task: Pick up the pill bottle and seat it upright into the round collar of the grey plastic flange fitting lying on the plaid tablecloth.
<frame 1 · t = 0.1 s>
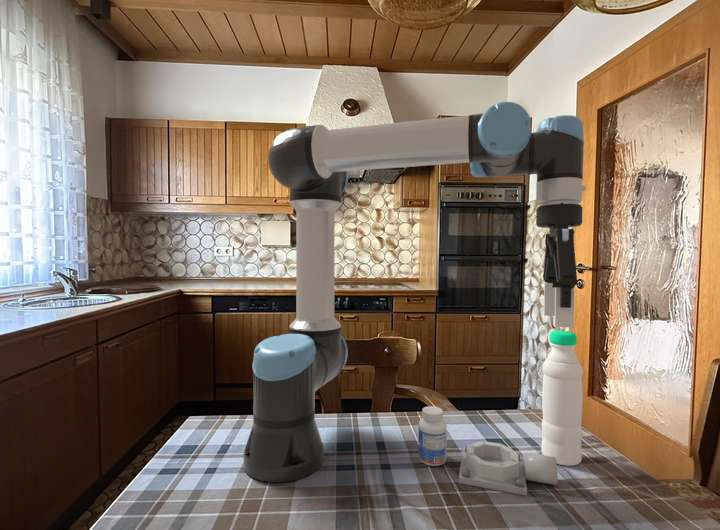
hand: (557, 321, 71), 28 cm above the table, fingers open, 13 cm apart
water bottle: (561, 458, 76), on the table
fitting: (491, 472, 71), on the table
pill bottle: (432, 460, 75), on the table
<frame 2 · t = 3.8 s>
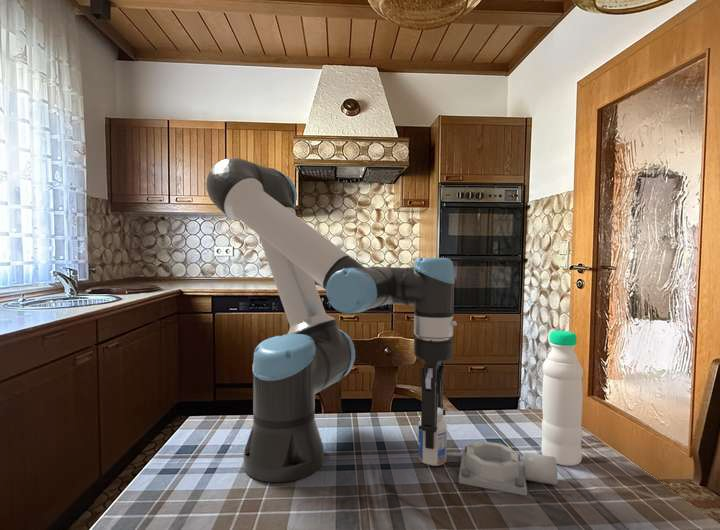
hand: (432, 455, 75), 1 cm above the table, fingers closed on pill bottle, 5 cm apart
pill bottle: (432, 460, 75), on the table, touching gripper
everything else where it was.
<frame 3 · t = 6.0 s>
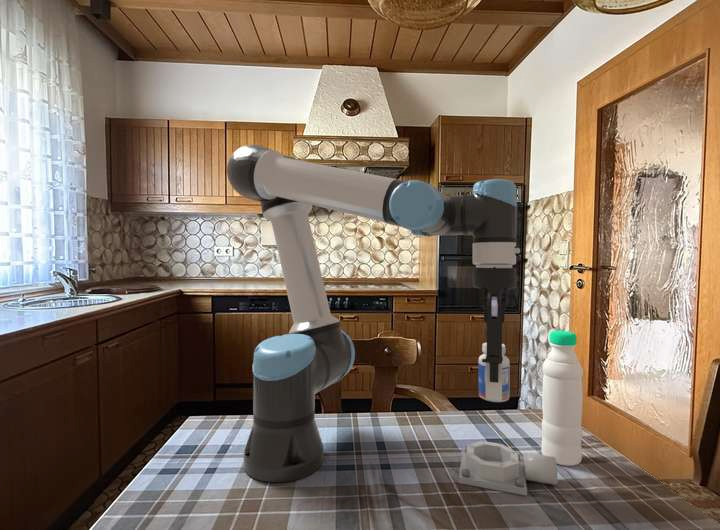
hand: (493, 393, 70), 15 cm above the table, fingers closed on pill bottle, 5 cm apart
pill bottle: (493, 398, 70), point 14 cm above the table, touching gripper
everything else where it was.
when the fingers open (4 cm above the table, at t = 8.4 s): pill bottle drops 2 cm, resting on fitting.
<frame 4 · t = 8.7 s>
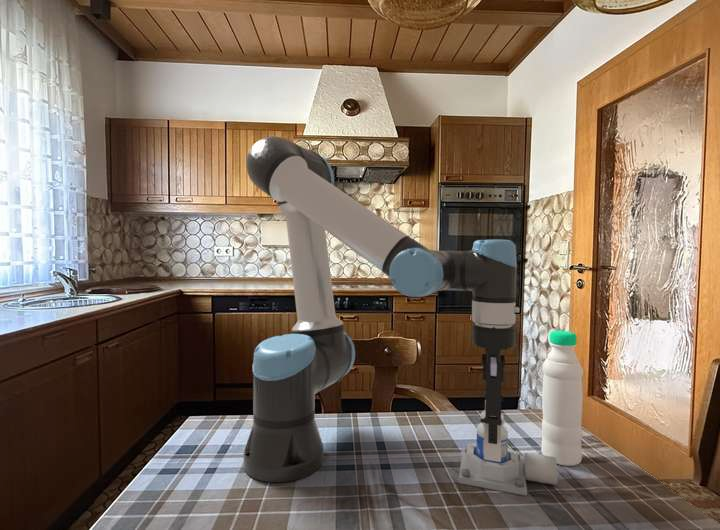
hand: (492, 446, 71), 5 cm above the table, fingers open, 9 cm apart
pill bottle: (491, 468, 71), point 1 cm above the table, touching fitting
everything else where it was.
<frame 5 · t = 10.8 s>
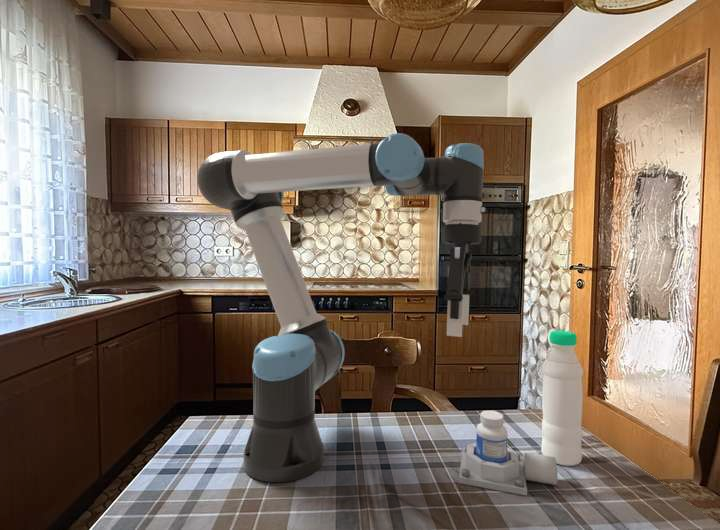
hand: (458, 329, 78), 25 cm above the table, fingers open, 13 cm apart
nothing on the table moved.
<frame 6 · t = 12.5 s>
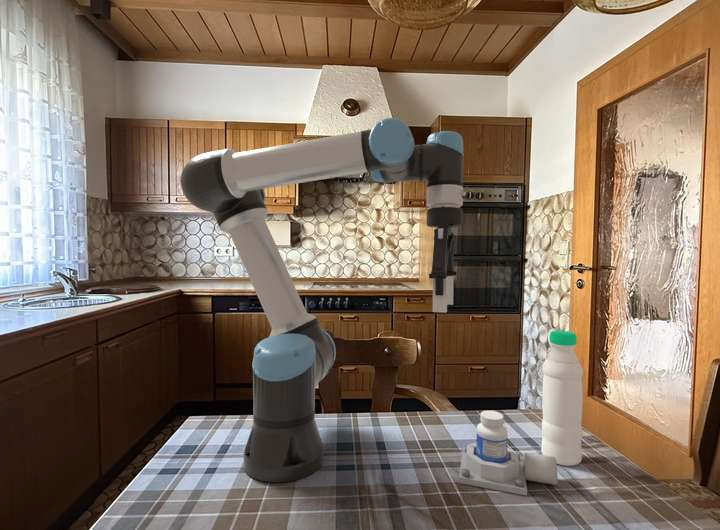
hand: (443, 308, 82), 29 cm above the table, fingers open, 13 cm apart
nothing on the table moved.
at the end: pill bottle 0.2 cm off-centre on the fitting, point 0.8 cm above the fitting's base; pill bottle tilted 0°; the gripper is holding nothing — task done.
